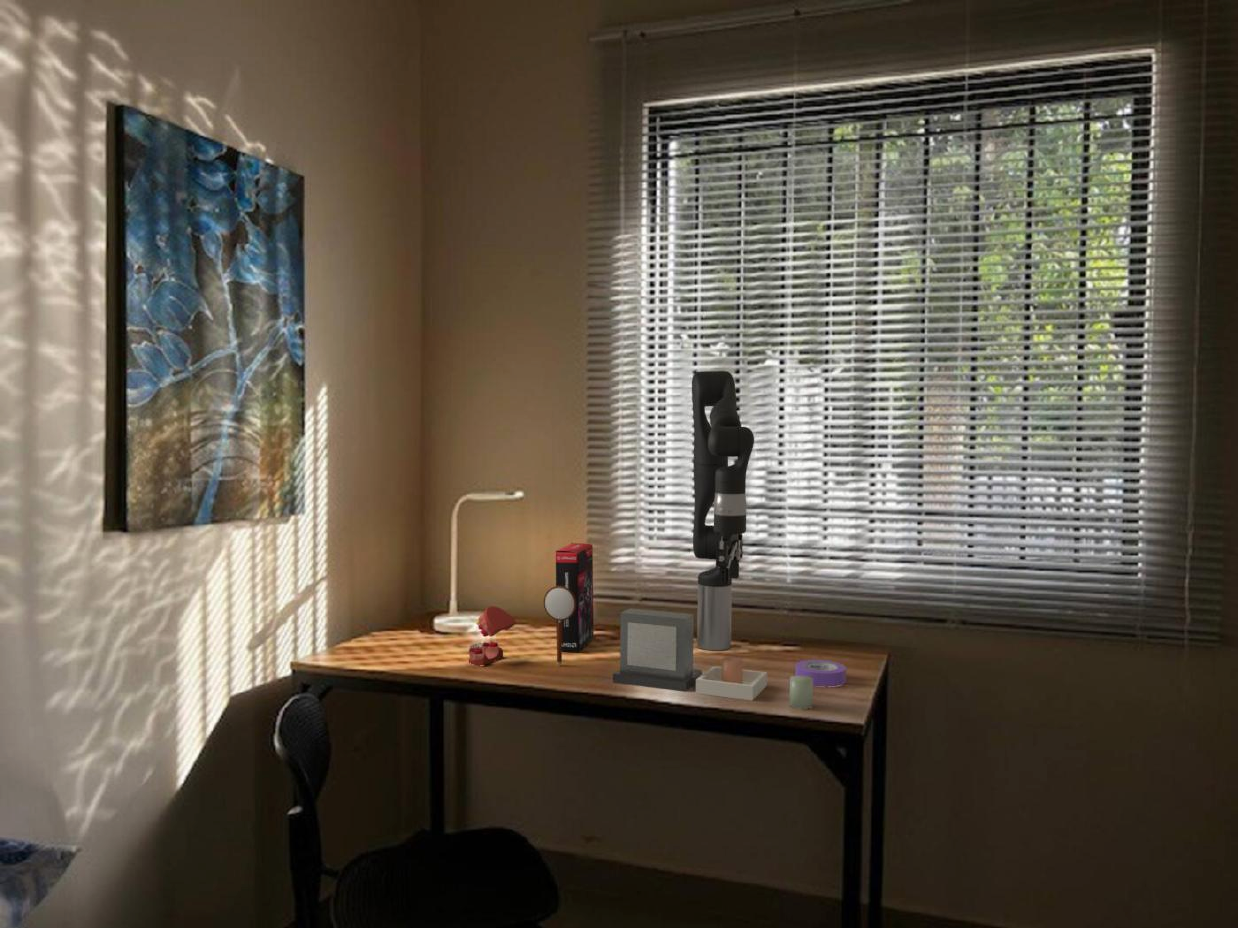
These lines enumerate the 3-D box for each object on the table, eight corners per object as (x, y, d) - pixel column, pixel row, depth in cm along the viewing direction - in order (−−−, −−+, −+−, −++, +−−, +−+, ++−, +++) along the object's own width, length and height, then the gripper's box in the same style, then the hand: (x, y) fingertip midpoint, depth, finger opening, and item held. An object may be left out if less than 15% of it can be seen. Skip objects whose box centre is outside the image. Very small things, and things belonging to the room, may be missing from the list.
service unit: (632, 669, 221) (632, 605, 221) (702, 678, 214) (703, 611, 214) (612, 681, 210) (613, 613, 210) (685, 691, 203) (686, 620, 203)
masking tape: (852, 688, 208) (853, 671, 208) (803, 689, 207) (803, 672, 207) (836, 674, 219) (836, 659, 219) (789, 675, 218) (789, 659, 218)
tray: (712, 679, 214) (713, 666, 213) (766, 685, 208) (767, 672, 208) (695, 693, 202) (695, 679, 201) (752, 700, 196) (752, 686, 196)
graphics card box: (579, 653, 237) (580, 550, 236) (553, 652, 239) (554, 549, 238) (594, 639, 254) (594, 543, 253) (570, 638, 255) (571, 542, 254)
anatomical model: (475, 651, 235) (494, 600, 233) (500, 665, 233) (520, 614, 230) (454, 661, 226) (474, 608, 223) (480, 676, 223) (501, 622, 220)
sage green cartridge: (792, 701, 196) (792, 674, 196) (814, 704, 194) (814, 676, 194) (787, 707, 192) (787, 679, 191) (810, 710, 190) (810, 682, 189)
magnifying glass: (576, 666, 224) (577, 586, 223) (574, 668, 222) (574, 587, 222) (544, 663, 227) (545, 584, 226) (542, 664, 225) (542, 585, 225)
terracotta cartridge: (724, 682, 208) (725, 657, 208) (745, 685, 206) (745, 659, 206) (718, 687, 204) (719, 661, 204) (739, 690, 202) (739, 664, 202)
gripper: (737, 516, 202) (736, 588, 203) (753, 509, 215) (752, 577, 216) (705, 514, 205) (704, 585, 206) (723, 508, 218) (722, 574, 219)
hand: (729, 581), depth 211 cm, fingers open, 8 cm apart
